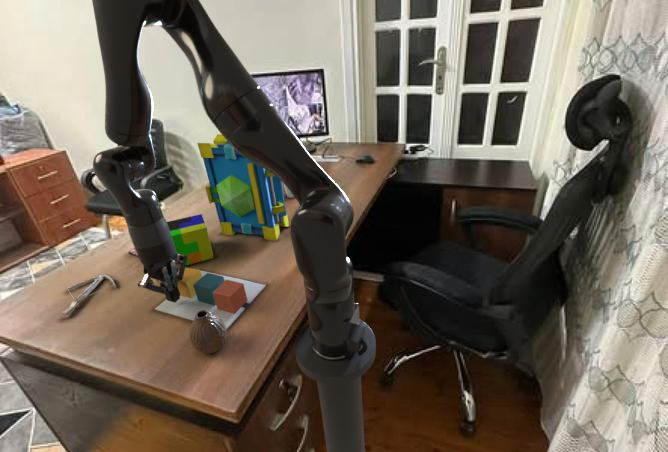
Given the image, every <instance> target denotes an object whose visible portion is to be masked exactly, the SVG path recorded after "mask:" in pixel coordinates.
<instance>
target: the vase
mask: <svg viewBox="0 0 668 452" xmlns="http://www.w3.org/2000/svg"><path fill="white" fill-rule="evenodd" d="M227 333H228V332H227V330H226V327H225V324H224V322H223V321H222V319H221V318H220V317H218V316H217V315H215V314H212V313H209V312H208V311H207V310H201V311H199V312H197V313H196V315H195V319H194V320H193V321H192V322H191V324H190V326H189V341H190V343H191V345H192V347H193V348H194V349H195V350H196V351H197V352H199V353H201V354H204V355H205V354H206V355H207V354H208V355H209V354H214V353H216V352H218V351H219V350H220V349H221V348H222V347H223V346H224V345H225V343H226V340H227Z"/></svg>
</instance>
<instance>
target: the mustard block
mask: <svg viewBox="0 0 668 452" xmlns="http://www.w3.org/2000/svg"><path fill="white" fill-rule="evenodd" d="M201 271H202V270H199V269H196V268H190V267H187V266H186V267H185V271H184V275H183V279H182V280H179V282H178V289H179V292H180V296H183V297H187V298H191V299H192V298H193V297H194V296H195V295H196V292H195V289H194V286H193V285H194V284H195V283H196V282H197V281H198V280H199V279H201V278H202V274H201ZM177 274H179V271H178V273H177Z"/></svg>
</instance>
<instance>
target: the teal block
mask: <svg viewBox="0 0 668 452" xmlns="http://www.w3.org/2000/svg"><path fill="white" fill-rule="evenodd" d="M210 273H211V272H210ZM210 273H207V274H205V275H204V276H203V277H202V278H201V279H199V280H198V281H197V282H196V283H195V284H194V285H193V286H194V289H195V292H196V295H197V298H198V301H200V302H203V303H207V304H211V305H216V303H215V299H214V296H213V293H212V292H213V291H215V290H216V289H217V288H218V287H219V286H220V285H221V284H222V283H223V282H224V281H225V280H224V277H223V276H224V275H223V276H219V275H220V274H219V275H215V274H216V273H215V274H210Z"/></svg>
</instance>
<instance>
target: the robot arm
mask: <svg viewBox="0 0 668 452" xmlns="http://www.w3.org/2000/svg"><path fill="white" fill-rule="evenodd" d="M91 3H92V7H93V13H94V21H95V26H96V32H97V39H98V46H99V50H100V57H101V62H102V67H103V74H104V84H105V85H104V87H105V88H104V89H105V103H104V104H105V106H104V107H105V108H104V132H105V135H106V137H107V138H108V140H110V141H111V142H112V143H114V144H116V145H117V146H115V147H112V148H108V149H105V150H102V151H99V152H97V153H96V154H95V156H94V157H93V159H92V170H93V172H94V174H95V176H96V178H97V179H98V181H99V182H100V183H101V184H102V185H103V187H104V188H105V189H106V191H108V193H109V194H110V195H111V197H112V198H113V199H114V201H115V202H116V203H117V205H118V207H119V209H120V210H121V213H122V215H123V218H124V221H125V223H126V226H127V230H128V234H129V237H130V240H131V242H132V244H133V248H135V250H136V252H137V255H138V257H137V258H138V260H139V261H140V263H141V265H142V266H143V271H142V272H143V274H144V276H143V278H142V280H139V281H138V282H137V287H139V288H143V289H146V290H148V291H152V292H154V293H158V294H163V295H164V296H165V298H166V299H167V300H168V301H171V302H174V303H175V302H177V301H178V300H179V299H180V292H179V289H178V282H179V280H182V279H183V275H184V271H185V267H186V268H187V265H186V262H187V258H188V257H187V256H186V255H182V254H178V253H177V252H176V247H175V244H174V242H173V239H172V236H171V233H170V230H169V227H168V224H167V222H168V221H167V219H166V217H165V216H164V213H163V210H162V207H161V204H160V201H159V198H158V195H157V194H156V193H155V191H153V190H152V189H148V188H141V189H140V188H139V189H133V188H132V186H131V184H132V183H134V182H137V181H139V180H141V179H144V178H146V177H149V176H150V175H151V174H152V173H153V171H154V170H155V168H156V163H157V162H156V161H157V160H156V155H155V150H154V145H153V141H152V135H151V130H152V123H153V114H154V100H153V94H152V92H151V91H152V90H151V89H150V86H149V84H148V81H147V79H146V77H145V76H144V74H143V71H142V68H141V65H140V61H139V46H140V40H141V36H142V35H141V34H142V31H143V28H147V27H148V28H149V27H158V26H159V27H160V28H162V29H163V30H164V31H165V32H166V34H168V35H169V37H170V38H171V39H172V40H173V41H174V42H175V44H176V45H177V46H178V48H179V50H180V51H182V53H183V54H184V56H185V57H186V59H187V61H188V62H189V65H190V66H191V67H190V68H191V69H192V72H193V76H194V79H195V80H194V81H195V84H196V87H197V93H198V96H199V99H200V103H201V105H202V108H203V110H204V112H205V114H206V116H207V117H208V119H209V120H210V122H211V123H212V124H213V125H214V126H215V128H216V129H217V130H218V132H219V133H220V134H222V135H223V136H224V138H225V139H226V140H227V141H228V142H229V144H230V145H231V146H232V147H233V148H234V149H235V150H236V151H237V152H239V153H240V154H241V155H243V156H244V157H245V158H247V159H249V160H250V161H252V162H254V163H255V164H257V165H259V166H260V167H262V168H264V169H266V170H267V171H269V172H270V173H272V174H274V175H275V176H276V177H277V178H279V179H280V180H281V182H282V184H283V183H284V184H285V185H286V187H287V188H288V189H289V190H290V191H291V193H292V194H293V195H294V197H293V198H294V199H295V200H296V201H297V203H298V205H299V206H298V207H297V209H296V211H295V212H294V213H293V214H292V217H291V220H290V225H289V227H290V239H291V243H292V244H291V245H292V249H293V253H294V258H295V263H296V267H297V270H298V271H299V273H300V275H302V280H303V286H304V294H305V301H306V308H307V314H308V315H307V316H308V321H309V322H308V323H310V329H311V331H310V333H309V338H310V337H311V335H312V346H313V350H314V352H315V353H316V354H317V355H318V356H319V357H320V358H322V359H324V360H328V361H339V360H343V359H348V360H351V358H352V356H353V354H354V352H356V353H358V355H360V356H362V355H363V354H364V353H365V352H366V351H367V343H366V342H365V340H364V338H365V326H362V325H360V320H361V318H360V305H359V303H358V302H356V299H355V297H356V296H355V282H354V265H353V261H352V260H351V259H350V258H349V257H348V255H347V244H346V243H347V241H346V240H347V239H346V238H347V235H348V233H349V231H350V229H351V227H352V225H353V221H354V217H355V216H354V215H355V213H354V207H353V204H352V202H351V201H350V199H349V197H348V196H347V195H346V193H345V192H344V191H343V190H342V189H341V188H340V186H339V185H338V184H337V183H335V181H334V180H333V179H332V178H331V176H329V175H328V174H327V172H326V171H325V170H324V169H323V168H322V167H321V166H320V165H319V164H318V162H317V161H316V160H315V159H314V158H313V156H312V155H311V154H310V153H309V151H308V150H307V149H306V147H305V146H304V145H303V143H302V142H301V141H300V139H299V138H298V136H297V135H296V134H295V132H294V131H293V130H292V129H291V127H290V126H289V124H288V123H287V122H286V121H285V119H284V118H283V117H282V115H281V114H280V112H279V111H278V109H277V108H276V106H275V104H273V102H272V101H271V100H270V98H269V97H268V95H267V94H266V93H265V91H264V90H263V89H262V88H261V86H260V84H259V83H258V82H257V81H256V80H255V79H254V78H253V76H252V75H251V74H250V72H249V71H248V69H247V68H246V67H245V66H244V65H243V63H242V61H241V60H240V59H239V57H238V56H237V55H236V53H235V52H234V50H233V49H232V48H231V46H230V45H229V44H228V42H227V41H226V40H225V38H224V37H223V36H222V34H221V33H220V31H219V29H218V28H217V27H216V25H215V24H214V22H213V20H212V18H211V17H210V16H209V14H208V13H207V11H206V9H205V7H204V6H203V4H202V3H201V1H200V0H91ZM178 272H179V274H177V273H178ZM153 280H154V281H156V283H157V284H158V285H156V284H155V282H154V281H153ZM166 299H165V300H166ZM361 345H362V346H363V348H362V349H361V350H360V351H359V349H360V347H361Z"/></svg>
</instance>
